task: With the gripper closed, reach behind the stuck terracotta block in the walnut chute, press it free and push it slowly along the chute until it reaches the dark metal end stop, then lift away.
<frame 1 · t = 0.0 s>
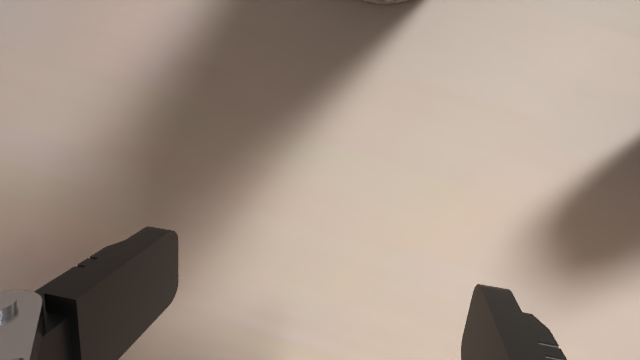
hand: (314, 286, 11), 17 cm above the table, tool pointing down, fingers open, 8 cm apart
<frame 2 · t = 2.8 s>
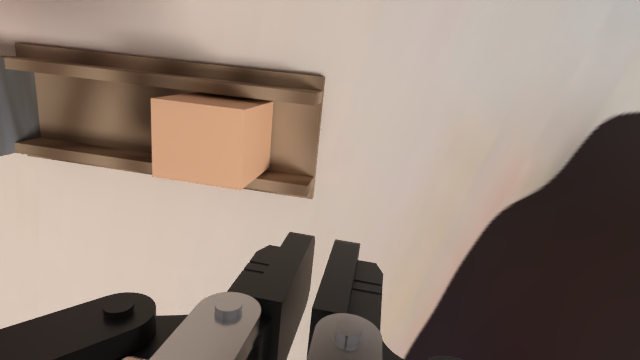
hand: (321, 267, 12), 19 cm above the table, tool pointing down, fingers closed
walnut chute: (164, 119, 32), on the table
terracotta block: (216, 136, 28), point 4 cm above the table, slide at 0.0 cm
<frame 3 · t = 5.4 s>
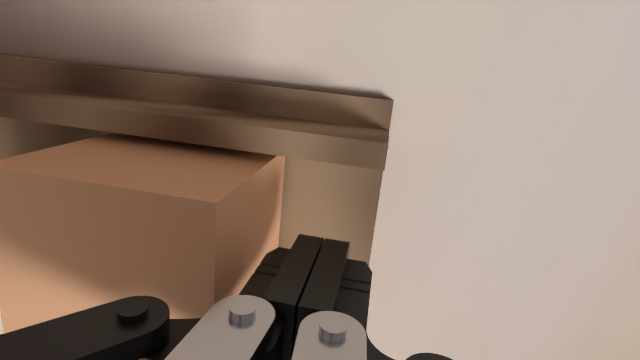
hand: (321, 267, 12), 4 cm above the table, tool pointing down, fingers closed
walnut chute: (80, 175, 17), on the table
terracotta block: (164, 231, 13), point 4 cm above the table, slide at 0.0 cm, touching gripper
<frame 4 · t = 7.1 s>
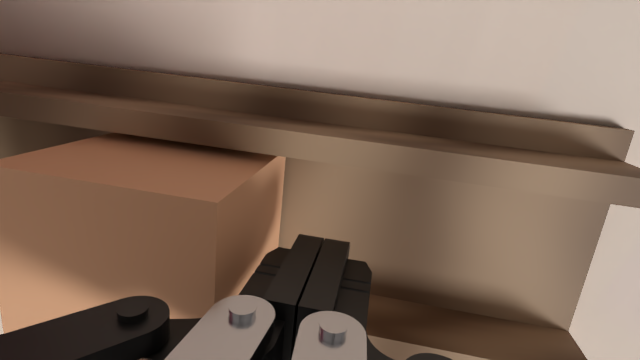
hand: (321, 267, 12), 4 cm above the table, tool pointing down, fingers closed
walnut chute: (249, 202, 16), on the table
terracotta block: (164, 231, 13), point 4 cm above the table, slide at 7.5 cm, touching gripper
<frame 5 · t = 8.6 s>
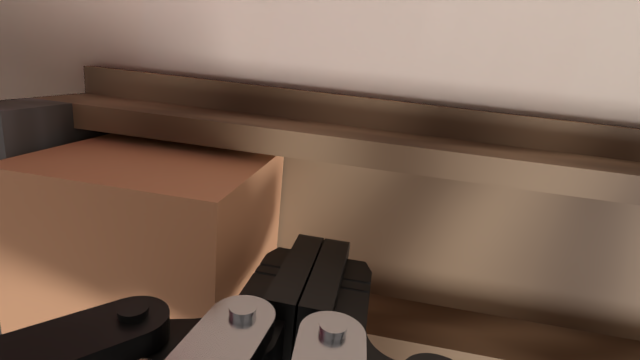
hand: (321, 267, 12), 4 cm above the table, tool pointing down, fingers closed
walnut chute: (400, 225, 15), on the table
terracotta block: (163, 232, 13), point 4 cm above the table, slide at 13.5 cm, touching gripper
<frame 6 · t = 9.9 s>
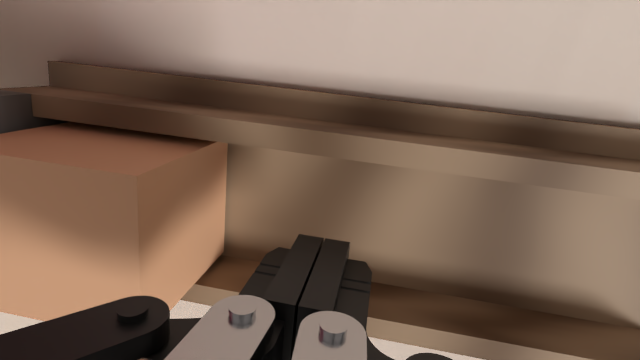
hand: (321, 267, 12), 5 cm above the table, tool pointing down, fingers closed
walnut chute: (336, 207, 17), on the table
terracotta block: (111, 210, 14), point 4 cm above the table, slide at 13.5 cm
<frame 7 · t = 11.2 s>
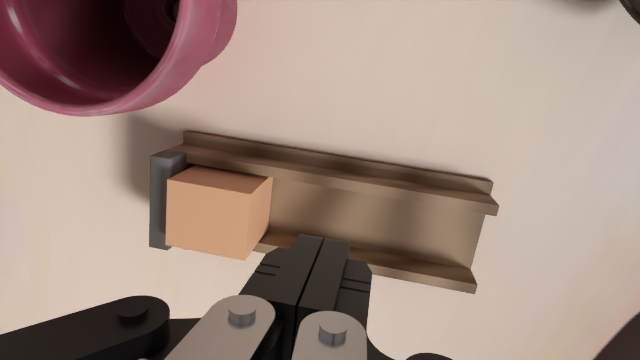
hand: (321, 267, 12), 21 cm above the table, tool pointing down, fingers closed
walnut chute: (325, 208, 34), on the table
terracotta block: (222, 206, 31), point 4 cm above the table, slide at 13.5 cm
plant pot: (182, 7, 31), on the table
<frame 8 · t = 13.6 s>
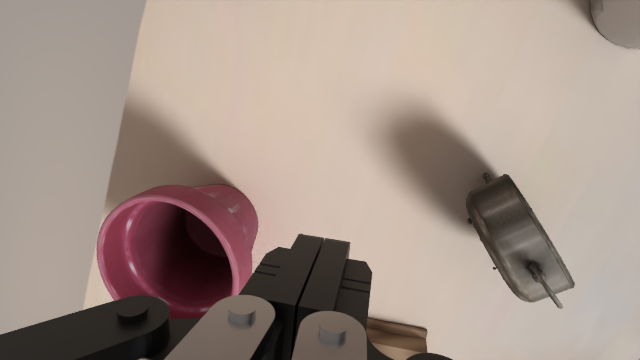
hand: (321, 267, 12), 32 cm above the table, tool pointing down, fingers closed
walnut chute: (319, 341, 51), on the table
alarm clock: (495, 213, 43), on the table
plant pot: (222, 219, 49), on the table
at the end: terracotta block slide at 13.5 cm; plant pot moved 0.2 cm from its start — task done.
